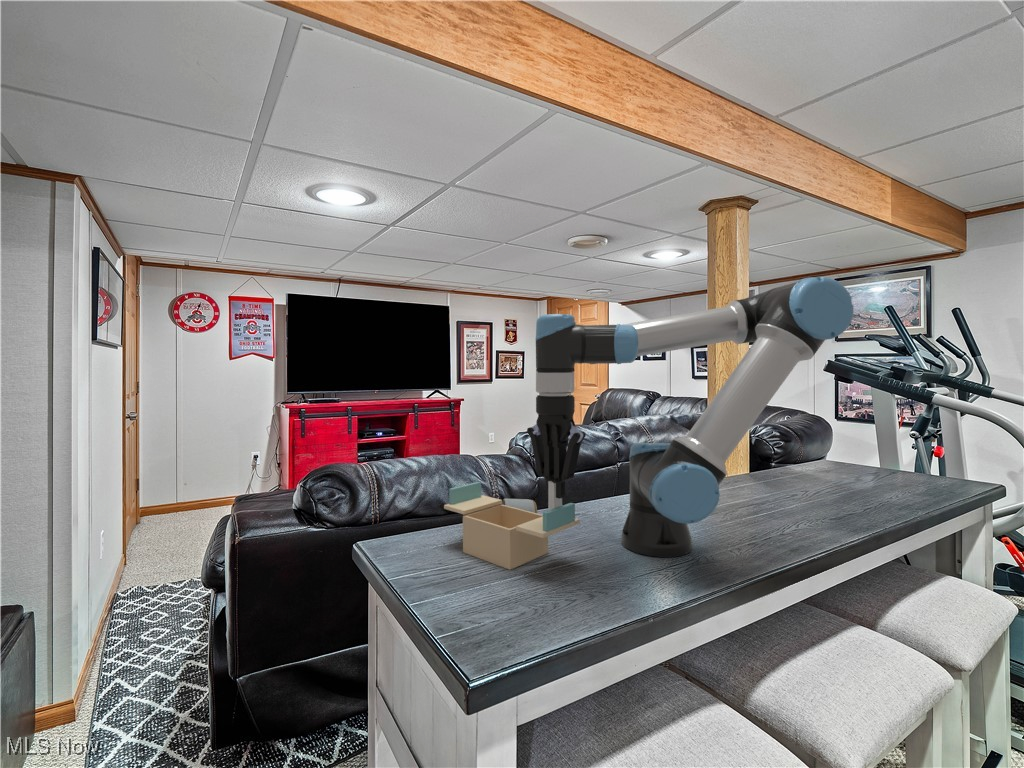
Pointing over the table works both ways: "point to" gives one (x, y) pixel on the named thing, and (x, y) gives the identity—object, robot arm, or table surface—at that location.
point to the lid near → (551, 521)
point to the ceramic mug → (521, 504)
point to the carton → (502, 536)
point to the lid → (469, 499)
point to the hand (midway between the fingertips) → (555, 513)
